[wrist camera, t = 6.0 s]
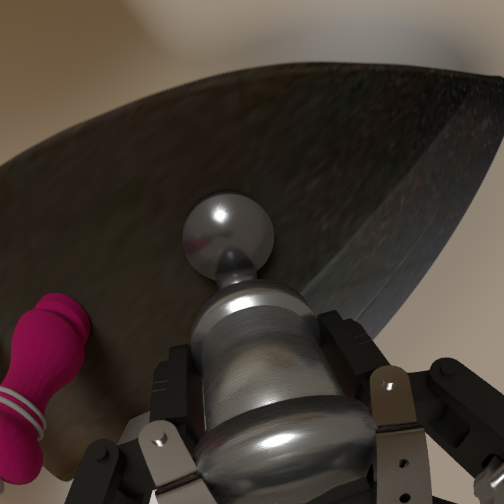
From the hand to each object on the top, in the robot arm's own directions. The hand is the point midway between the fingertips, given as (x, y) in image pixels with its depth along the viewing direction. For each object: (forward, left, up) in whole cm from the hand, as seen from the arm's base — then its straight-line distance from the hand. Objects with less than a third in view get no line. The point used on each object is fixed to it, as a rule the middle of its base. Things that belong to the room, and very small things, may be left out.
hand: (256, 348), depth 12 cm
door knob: (0, 0, -1) cm, 1 cm away
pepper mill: (-18, -5, -15) cm, 24 cm away
